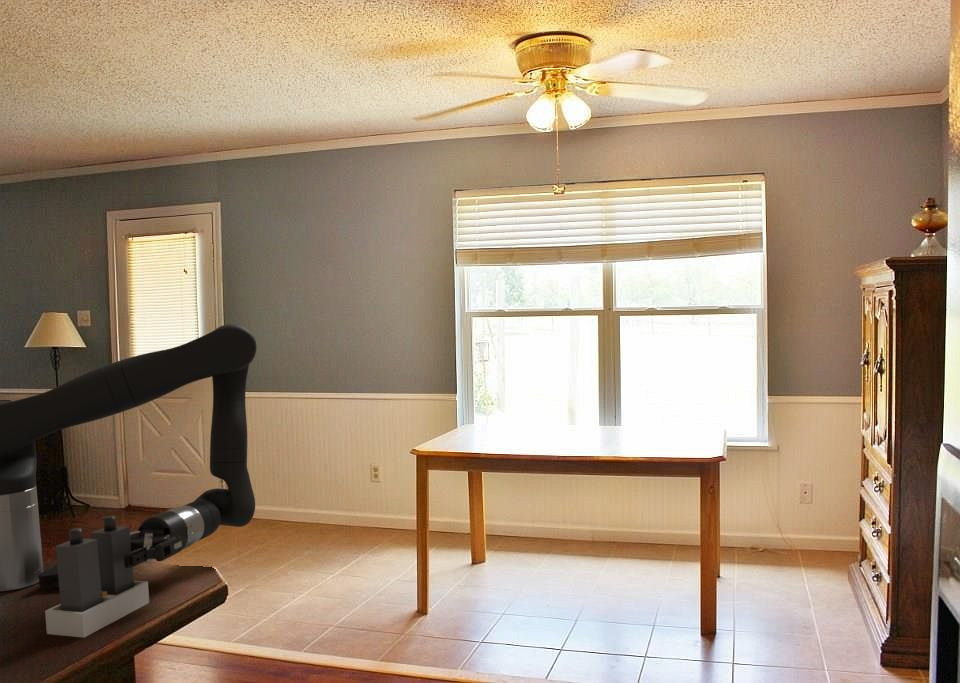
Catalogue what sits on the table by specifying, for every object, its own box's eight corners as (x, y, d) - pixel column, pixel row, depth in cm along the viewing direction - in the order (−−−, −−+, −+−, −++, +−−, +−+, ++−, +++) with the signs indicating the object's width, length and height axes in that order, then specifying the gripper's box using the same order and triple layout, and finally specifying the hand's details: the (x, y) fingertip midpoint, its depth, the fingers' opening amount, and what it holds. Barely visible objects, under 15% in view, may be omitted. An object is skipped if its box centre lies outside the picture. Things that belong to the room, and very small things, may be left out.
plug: (117, 614, 130) (110, 521, 129) (97, 612, 131) (89, 520, 130) (135, 605, 134) (128, 514, 133) (115, 603, 135) (108, 513, 134)
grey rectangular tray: (84, 640, 121) (82, 610, 121) (47, 636, 124) (44, 606, 123) (149, 605, 135) (147, 577, 134) (114, 602, 137) (112, 575, 137)
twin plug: (83, 632, 123) (75, 534, 122) (62, 630, 124) (54, 533, 124) (103, 621, 127) (96, 526, 126) (82, 620, 128) (75, 525, 127)
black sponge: (79, 592, 143) (78, 572, 143) (34, 593, 144) (32, 573, 144) (127, 563, 160) (126, 544, 159) (86, 564, 160) (85, 545, 160)
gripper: (137, 509, 148) (66, 535, 132) (204, 511, 143) (139, 539, 128) (140, 550, 148) (70, 581, 133) (207, 554, 144) (142, 586, 128)
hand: (104, 560), depth 130 cm, fingers open, 8 cm apart
